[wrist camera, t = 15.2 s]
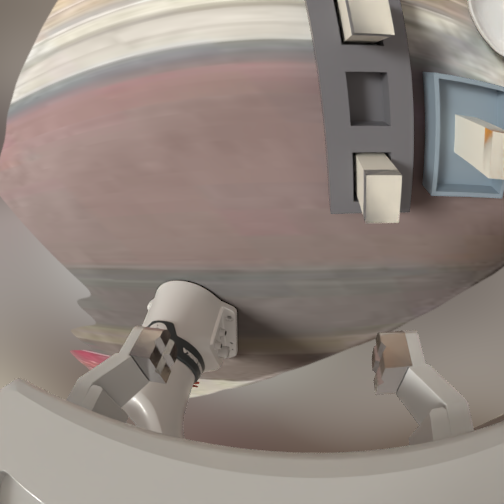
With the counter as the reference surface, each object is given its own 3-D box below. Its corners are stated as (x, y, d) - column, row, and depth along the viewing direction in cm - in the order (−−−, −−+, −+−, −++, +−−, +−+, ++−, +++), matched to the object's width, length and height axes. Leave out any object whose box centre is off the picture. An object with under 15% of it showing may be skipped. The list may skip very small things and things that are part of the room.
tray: (490, 187, 30) (502, 198, 27) (422, 184, 32) (431, 195, 30) (497, 85, 21) (511, 89, 19) (422, 71, 24) (433, 72, 21)
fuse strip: (401, 198, 34) (409, 212, 31) (329, 199, 37) (330, 213, 34) (387, -5, 19) (396, -13, 16) (303, -7, 22) (302, -16, 19)
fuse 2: (380, 187, 33) (398, 222, 26) (354, 188, 34) (365, 223, 27) (381, 149, 30) (402, 175, 23) (353, 149, 31) (366, 175, 24)
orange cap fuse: (474, 153, 27) (510, 180, 20) (453, 151, 28) (488, 178, 21) (476, 117, 24) (515, 135, 17) (455, 114, 25) (492, 131, 18)
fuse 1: (372, 43, 23) (394, 34, 16) (342, 43, 24) (354, 32, 17) (365, 5, 20) (384, -15, 13) (335, 4, 21) (344, -18, 14)
